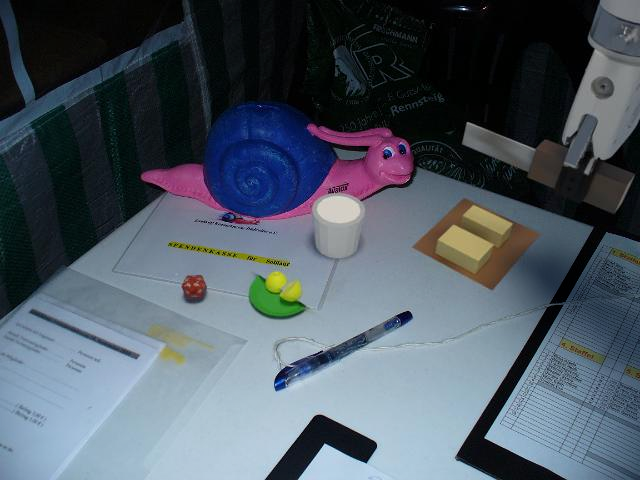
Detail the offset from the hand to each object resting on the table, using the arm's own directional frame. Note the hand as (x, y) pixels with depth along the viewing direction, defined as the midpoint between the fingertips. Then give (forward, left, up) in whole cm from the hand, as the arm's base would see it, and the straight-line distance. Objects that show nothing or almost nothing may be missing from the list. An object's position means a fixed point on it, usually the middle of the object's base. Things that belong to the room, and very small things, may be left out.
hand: (573, 189), depth 66 cm
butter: (+9, +3, -14) cm, 17 cm away
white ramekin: (+23, +12, -15) cm, 31 cm away
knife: (+5, 0, 0) cm, 5 cm away
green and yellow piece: (+23, +23, -15) cm, 36 cm away
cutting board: (+9, -1, -15) cm, 18 cm away
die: (+31, +30, -15) cm, 46 cm away
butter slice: (+9, -3, -14) cm, 17 cm away
